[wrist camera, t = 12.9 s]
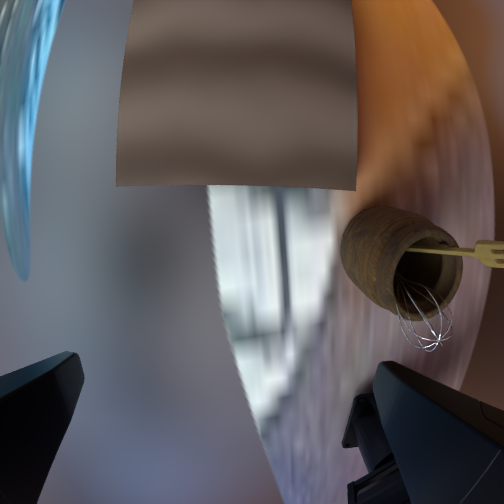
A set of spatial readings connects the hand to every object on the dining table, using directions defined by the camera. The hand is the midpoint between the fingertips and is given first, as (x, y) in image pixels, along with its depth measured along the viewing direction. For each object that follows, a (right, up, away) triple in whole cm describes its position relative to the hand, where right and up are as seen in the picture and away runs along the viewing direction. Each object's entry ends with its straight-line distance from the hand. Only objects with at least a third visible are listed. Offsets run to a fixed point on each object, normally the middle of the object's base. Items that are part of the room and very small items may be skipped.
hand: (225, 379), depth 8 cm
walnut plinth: (0, +15, +10) cm, 18 cm away
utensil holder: (+10, +4, +13) cm, 17 cm away
